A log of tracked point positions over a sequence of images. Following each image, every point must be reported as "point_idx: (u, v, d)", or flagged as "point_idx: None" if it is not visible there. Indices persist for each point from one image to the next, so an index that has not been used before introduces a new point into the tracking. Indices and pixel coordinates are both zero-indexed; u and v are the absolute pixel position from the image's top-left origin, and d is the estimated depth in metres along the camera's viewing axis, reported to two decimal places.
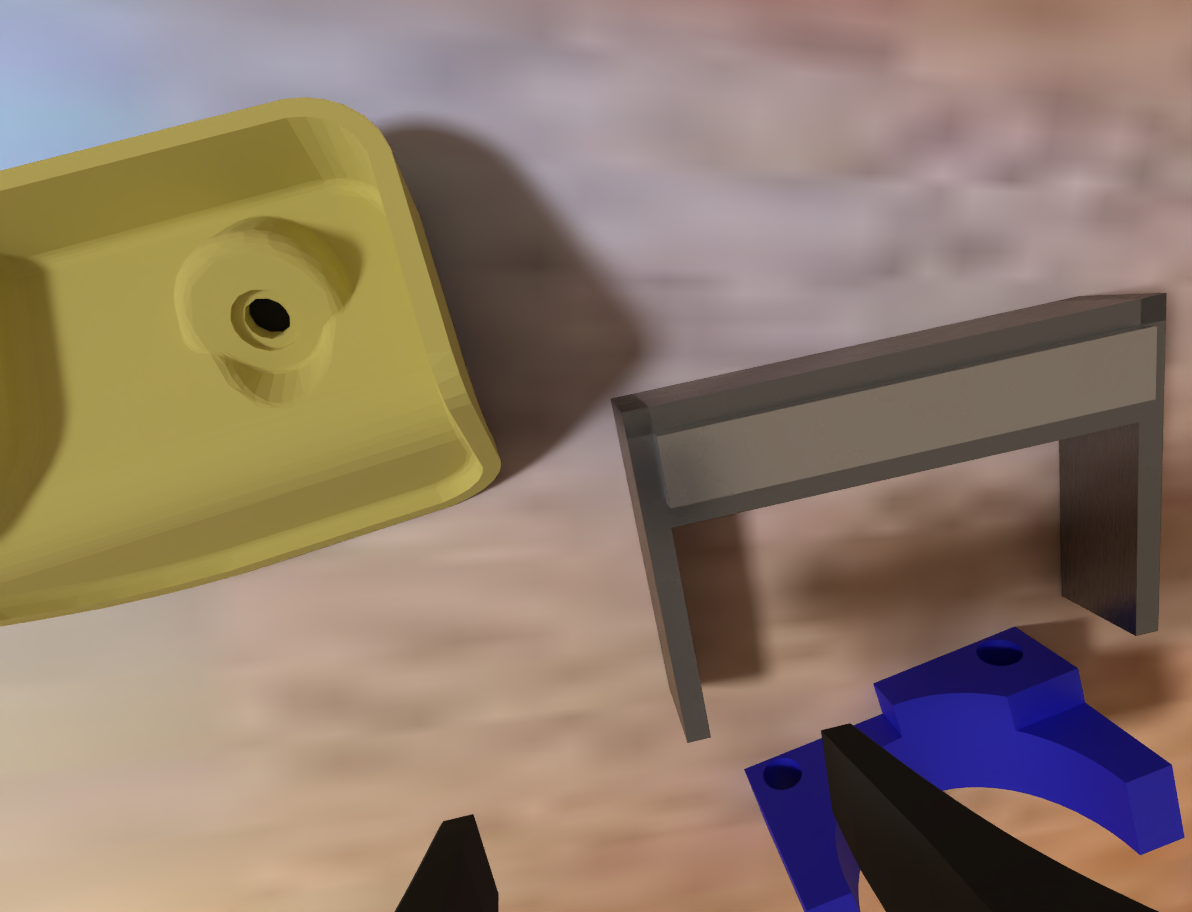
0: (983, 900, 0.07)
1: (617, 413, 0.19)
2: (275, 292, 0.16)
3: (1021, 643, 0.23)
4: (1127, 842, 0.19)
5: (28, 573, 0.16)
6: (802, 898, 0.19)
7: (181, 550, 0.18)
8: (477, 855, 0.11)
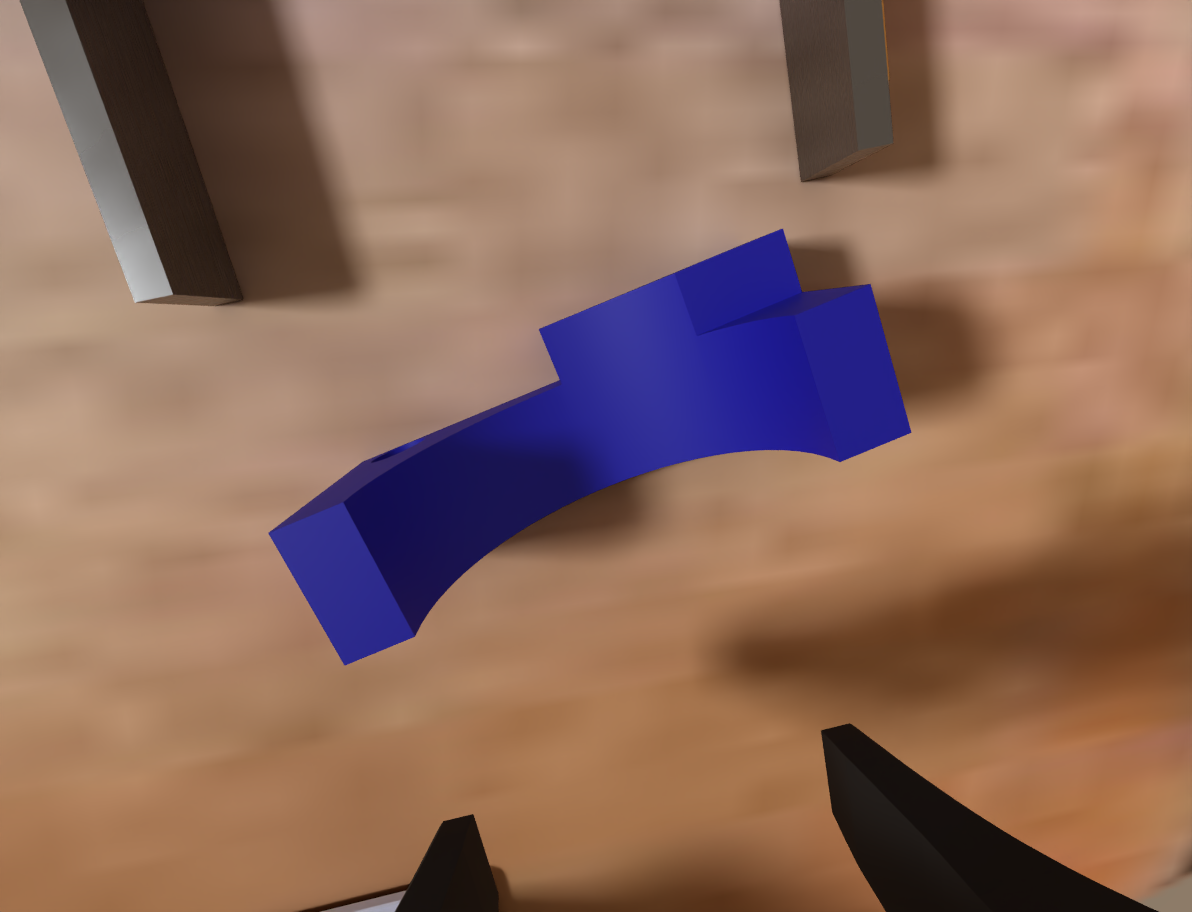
0: (983, 900, 0.07)
1: None
2: None
3: None
4: (828, 451, 0.12)
5: None
6: (279, 525, 0.11)
7: None
8: (478, 855, 0.11)
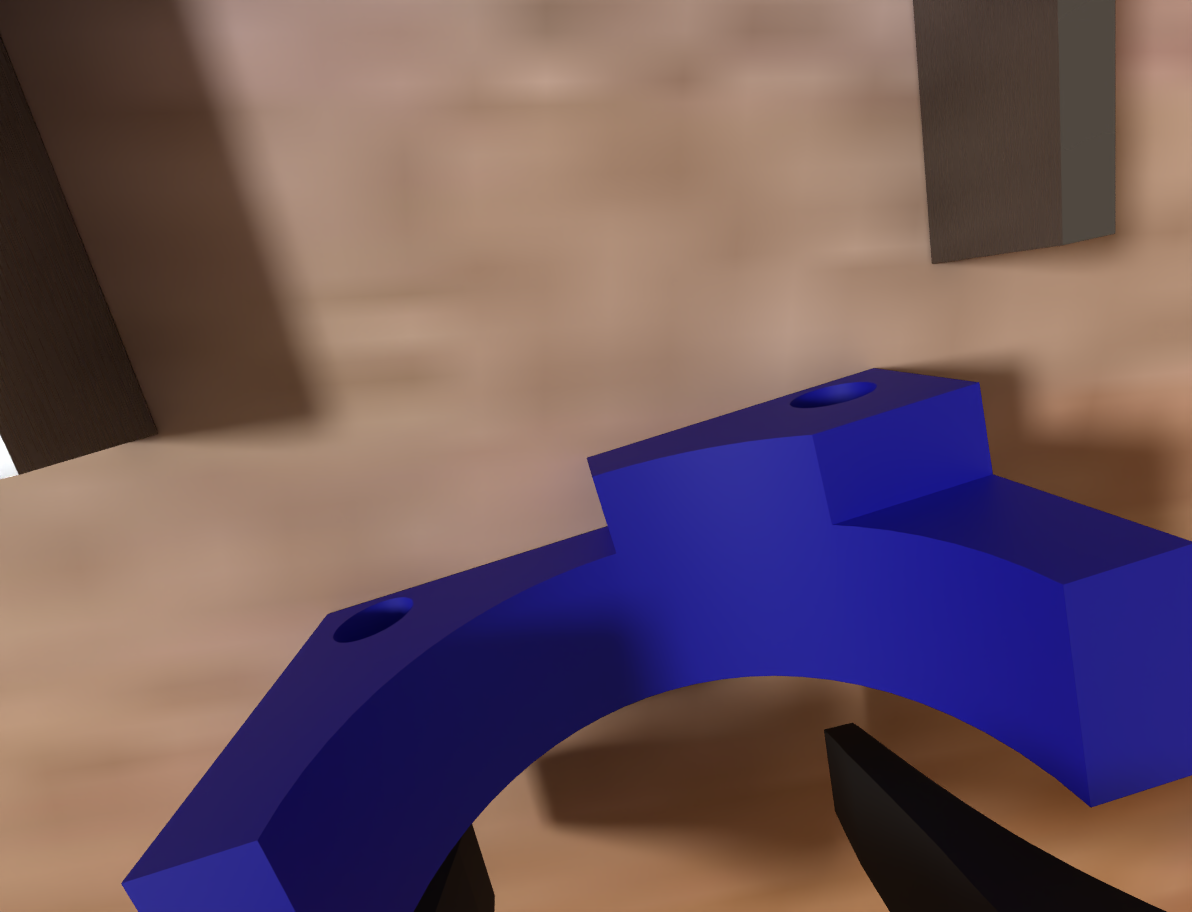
0: (988, 899, 0.07)
1: None
2: None
3: (879, 379, 0.11)
4: (1061, 774, 0.07)
5: None
6: (148, 851, 0.07)
7: None
8: (474, 855, 0.11)
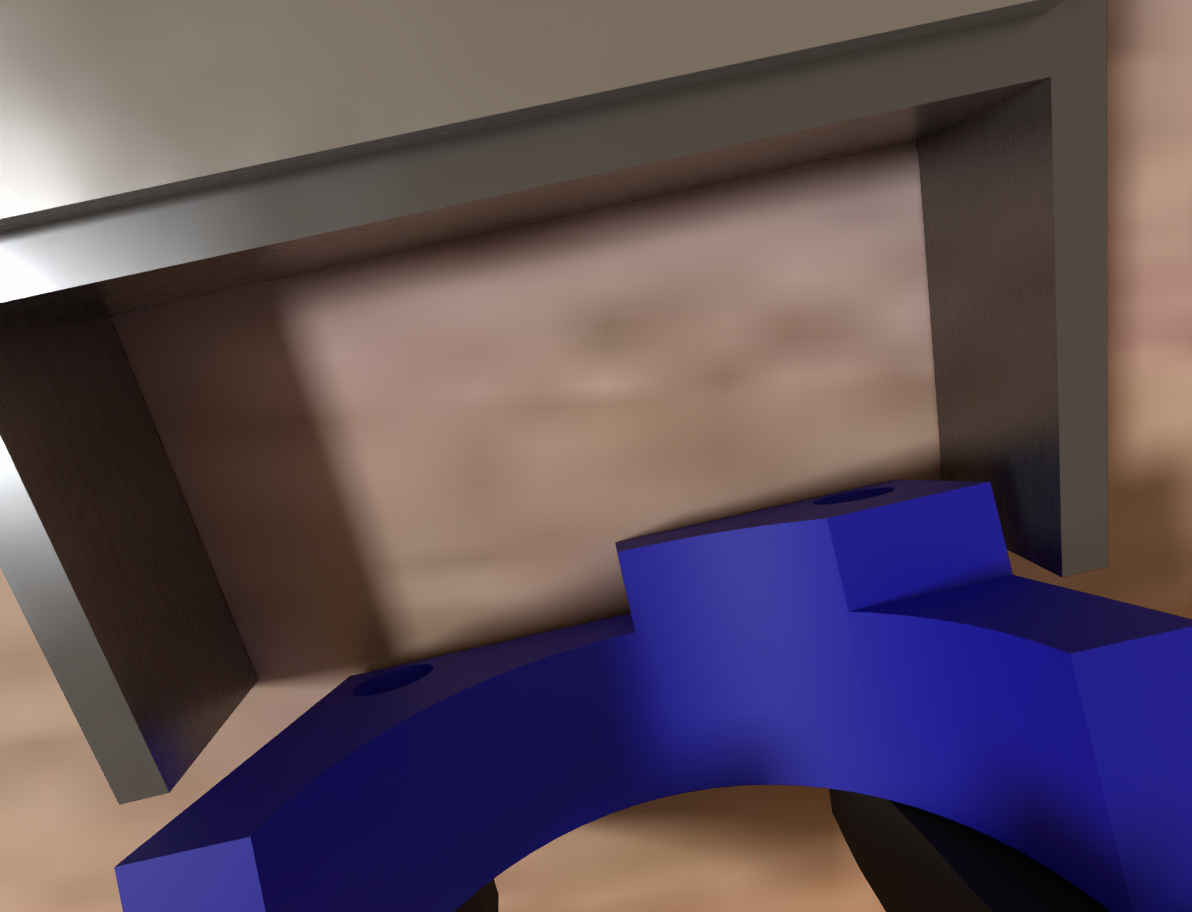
0: (983, 900, 0.07)
1: None
2: None
3: (898, 485, 0.11)
4: (1103, 895, 0.07)
5: None
6: (144, 844, 0.07)
7: None
8: None
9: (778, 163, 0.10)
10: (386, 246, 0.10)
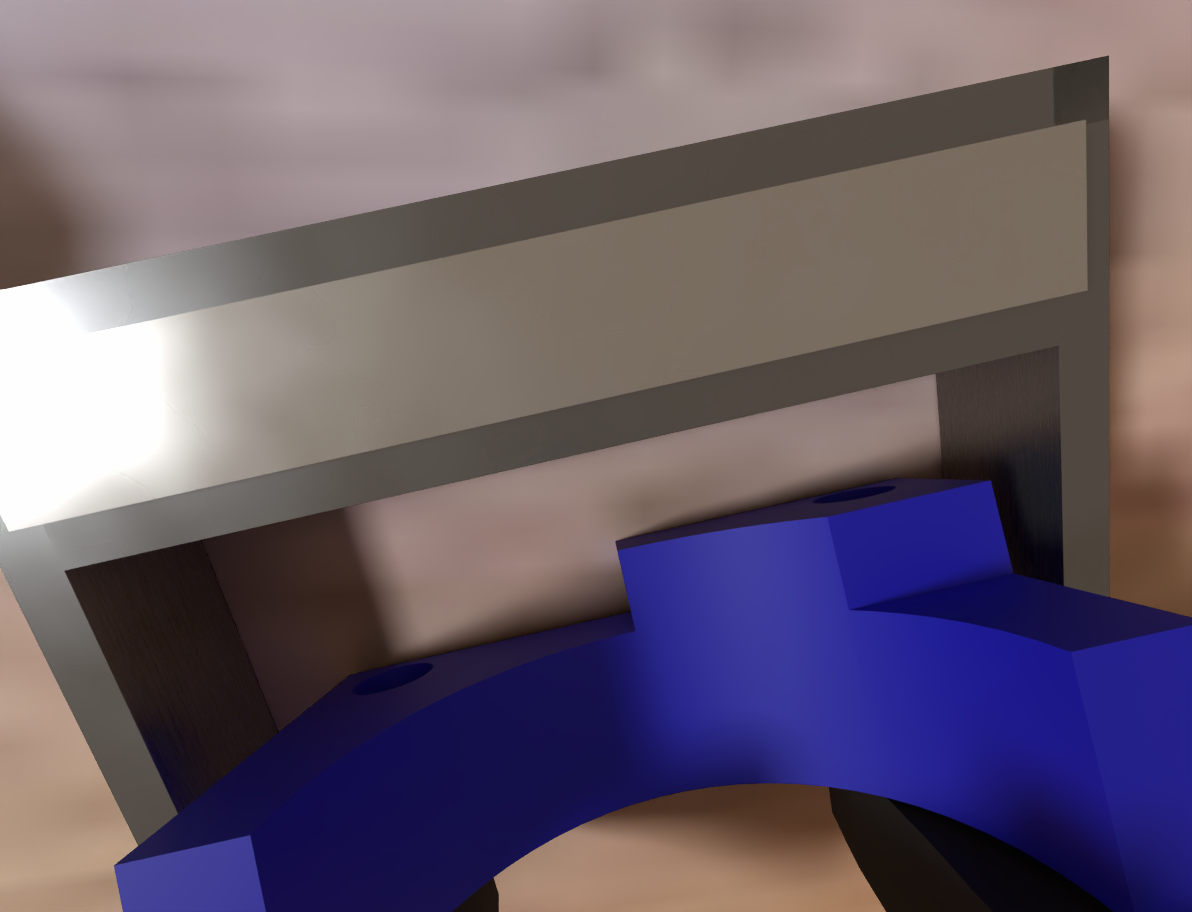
0: (983, 900, 0.07)
1: None
2: None
3: (899, 483, 0.11)
4: (1103, 893, 0.07)
5: None
6: (144, 842, 0.07)
7: None
8: None
9: None
10: None
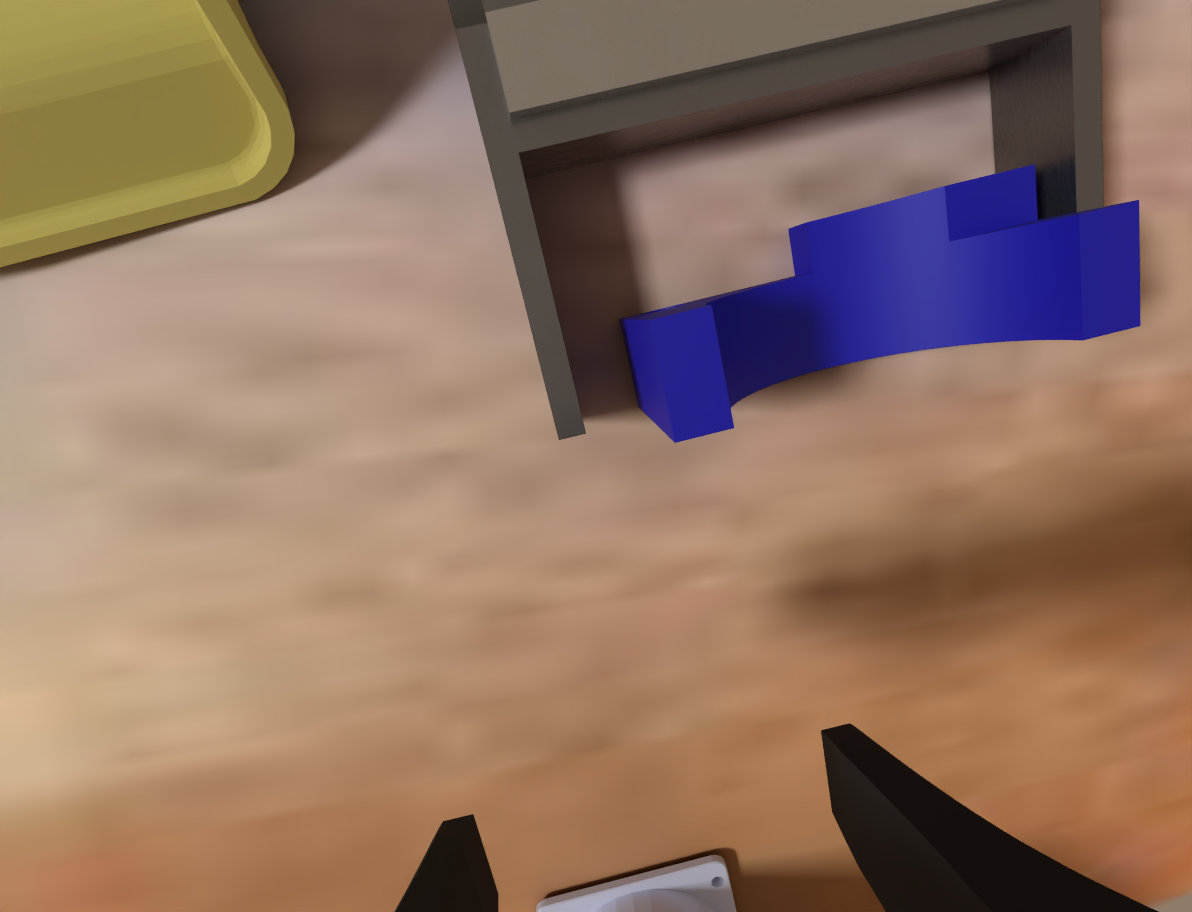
0: (983, 900, 0.07)
1: None
2: None
3: None
4: (1069, 333, 0.15)
5: None
6: (648, 319, 0.14)
7: None
8: (477, 854, 0.11)
9: (913, 82, 0.18)
10: (694, 131, 0.18)
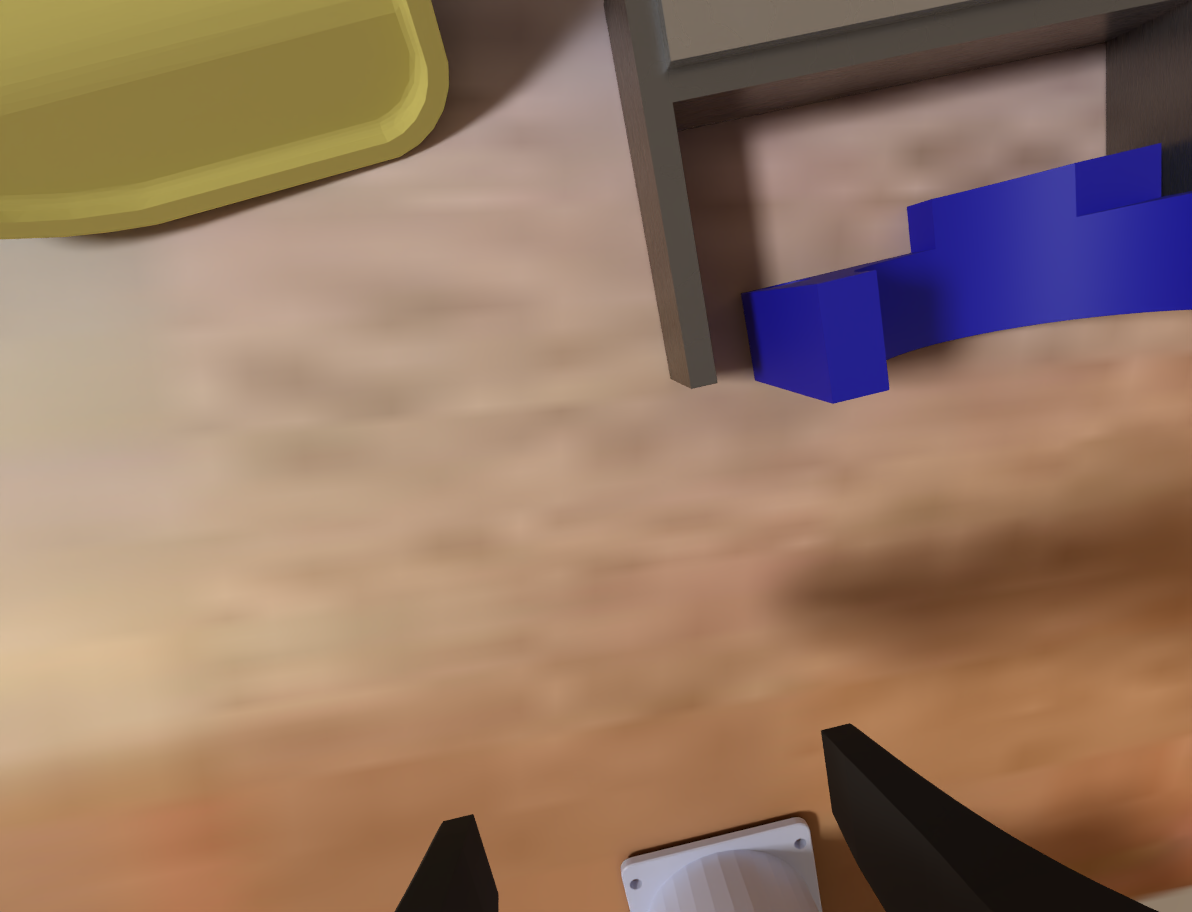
0: (983, 900, 0.07)
1: None
2: None
3: None
4: None
5: None
6: (811, 284, 0.15)
7: (84, 161, 0.16)
8: (477, 855, 0.11)
9: (1037, 50, 0.18)
10: (826, 92, 0.18)
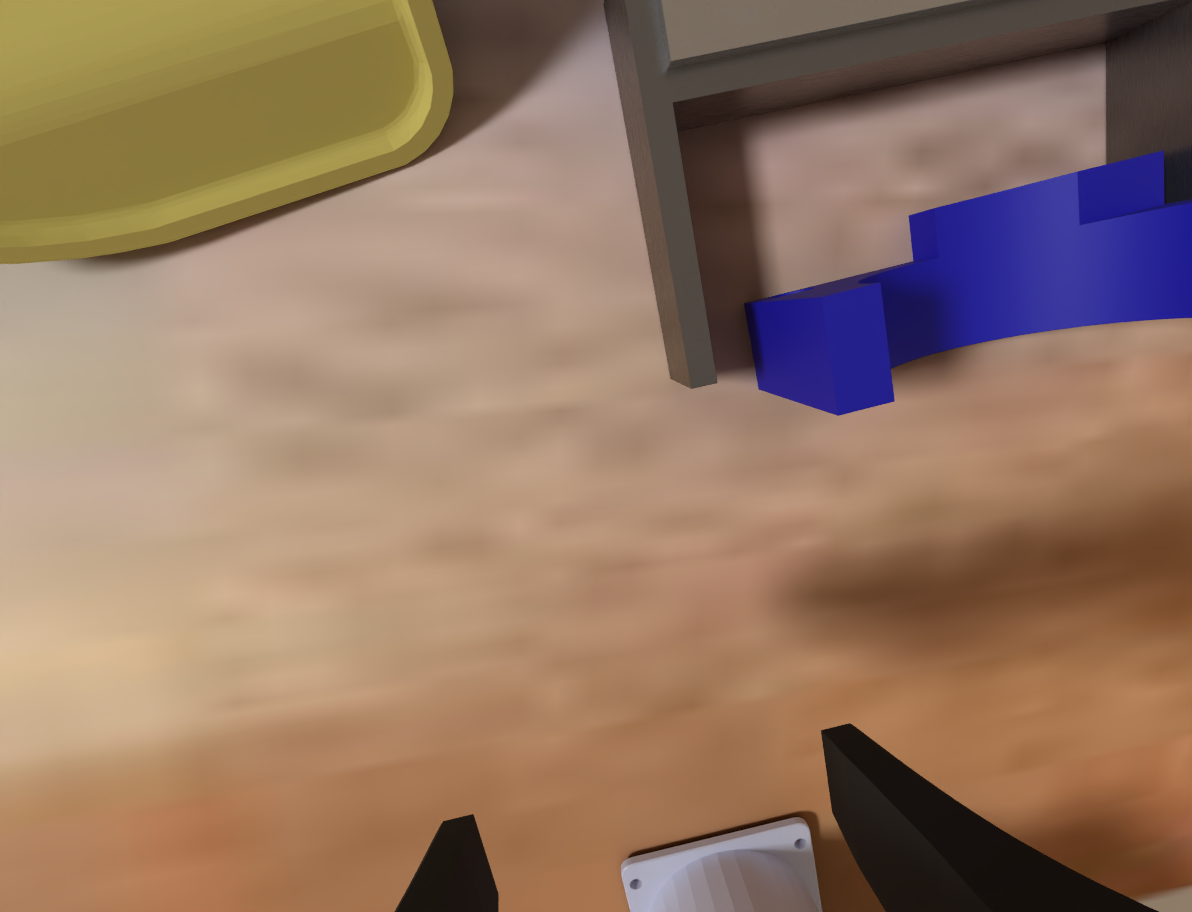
0: (983, 900, 0.07)
1: None
2: None
3: None
4: None
5: None
6: (816, 297, 0.15)
7: (97, 182, 0.16)
8: (477, 855, 0.11)
9: (1037, 50, 0.18)
10: (826, 92, 0.18)
